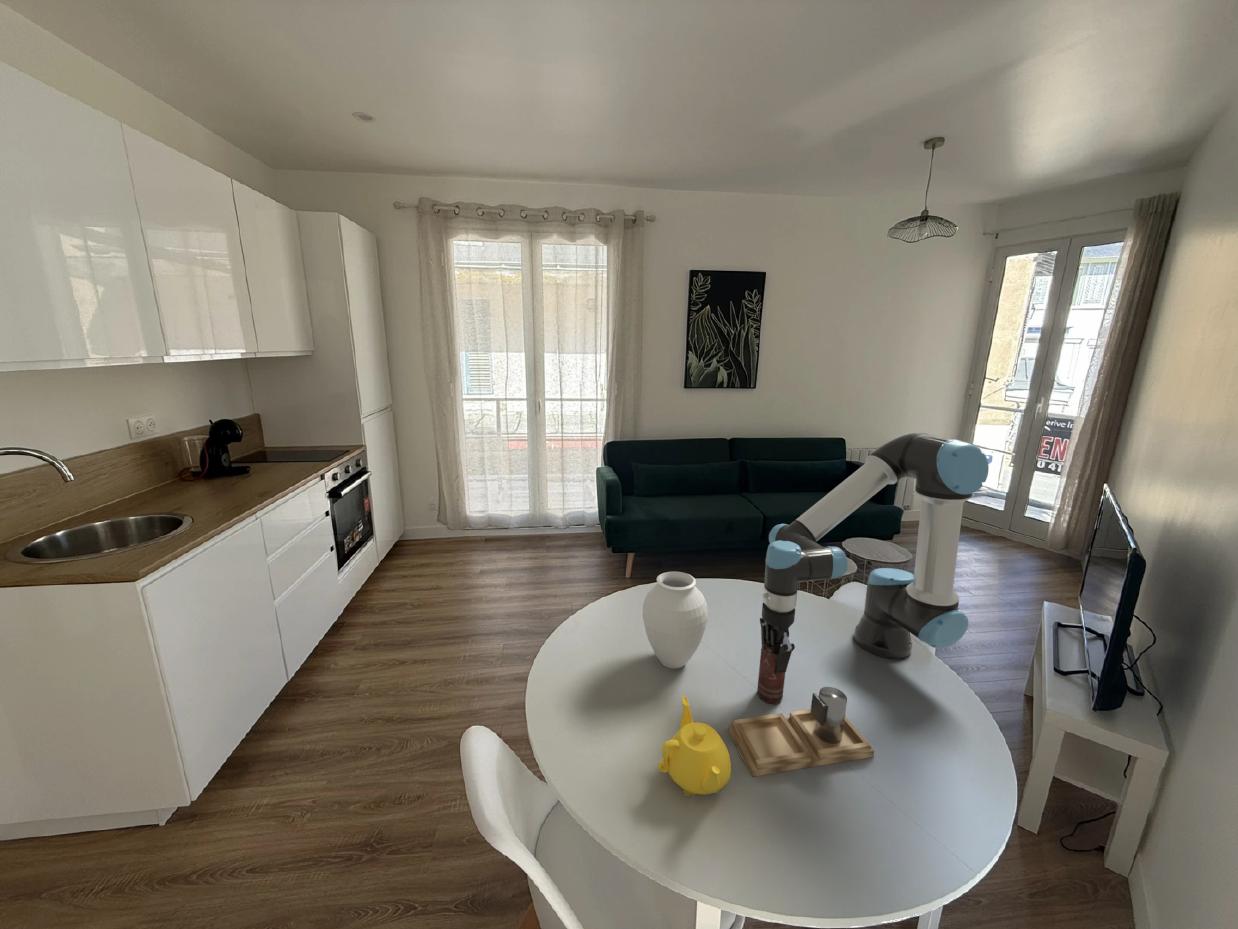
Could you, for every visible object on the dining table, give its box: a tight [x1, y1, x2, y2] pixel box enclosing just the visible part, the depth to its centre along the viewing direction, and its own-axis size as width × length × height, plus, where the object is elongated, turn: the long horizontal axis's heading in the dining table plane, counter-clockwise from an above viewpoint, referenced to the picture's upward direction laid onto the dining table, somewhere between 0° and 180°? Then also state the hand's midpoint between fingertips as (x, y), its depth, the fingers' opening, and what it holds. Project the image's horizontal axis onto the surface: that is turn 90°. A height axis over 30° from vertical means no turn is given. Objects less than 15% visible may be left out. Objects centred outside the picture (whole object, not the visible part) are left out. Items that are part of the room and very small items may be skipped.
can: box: [756, 642, 786, 705], centre depth 119 cm, size 6×6×14 cm
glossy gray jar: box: [810, 686, 848, 744], centre depth 105 cm, size 6×6×10 cm
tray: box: [728, 708, 875, 777], centre depth 105 cm, size 28×12×3 cm, turn 101°
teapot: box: [657, 695, 732, 797], centre depth 96 cm, size 20×15×12 cm
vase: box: [642, 570, 709, 670], centre depth 131 cm, size 18×18×25 cm
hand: (771, 689), depth 120 cm, fingers closed
